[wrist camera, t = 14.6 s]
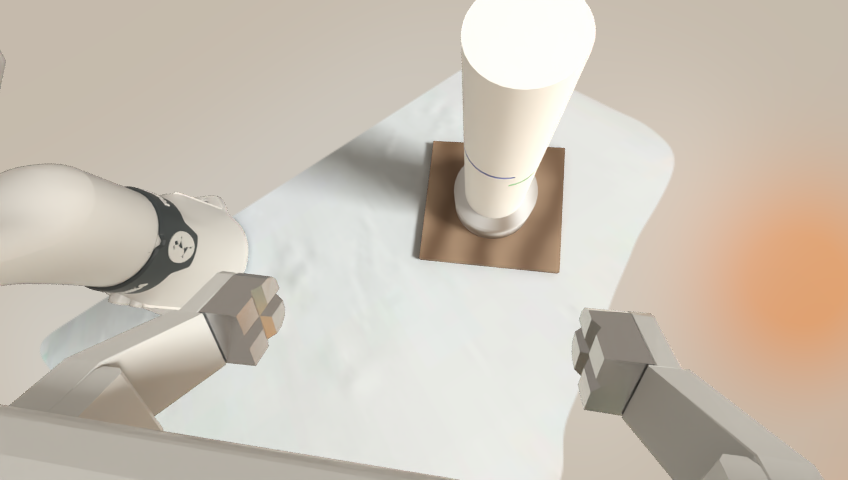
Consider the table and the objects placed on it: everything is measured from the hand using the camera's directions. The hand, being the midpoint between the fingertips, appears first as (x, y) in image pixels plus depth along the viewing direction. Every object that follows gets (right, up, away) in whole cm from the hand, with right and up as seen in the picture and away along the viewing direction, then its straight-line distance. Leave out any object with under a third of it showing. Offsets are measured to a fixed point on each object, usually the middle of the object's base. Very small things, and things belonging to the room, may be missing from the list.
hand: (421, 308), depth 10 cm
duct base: (+9, +7, +40) cm, 42 cm away
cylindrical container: (+9, +8, +35) cm, 36 cm away
